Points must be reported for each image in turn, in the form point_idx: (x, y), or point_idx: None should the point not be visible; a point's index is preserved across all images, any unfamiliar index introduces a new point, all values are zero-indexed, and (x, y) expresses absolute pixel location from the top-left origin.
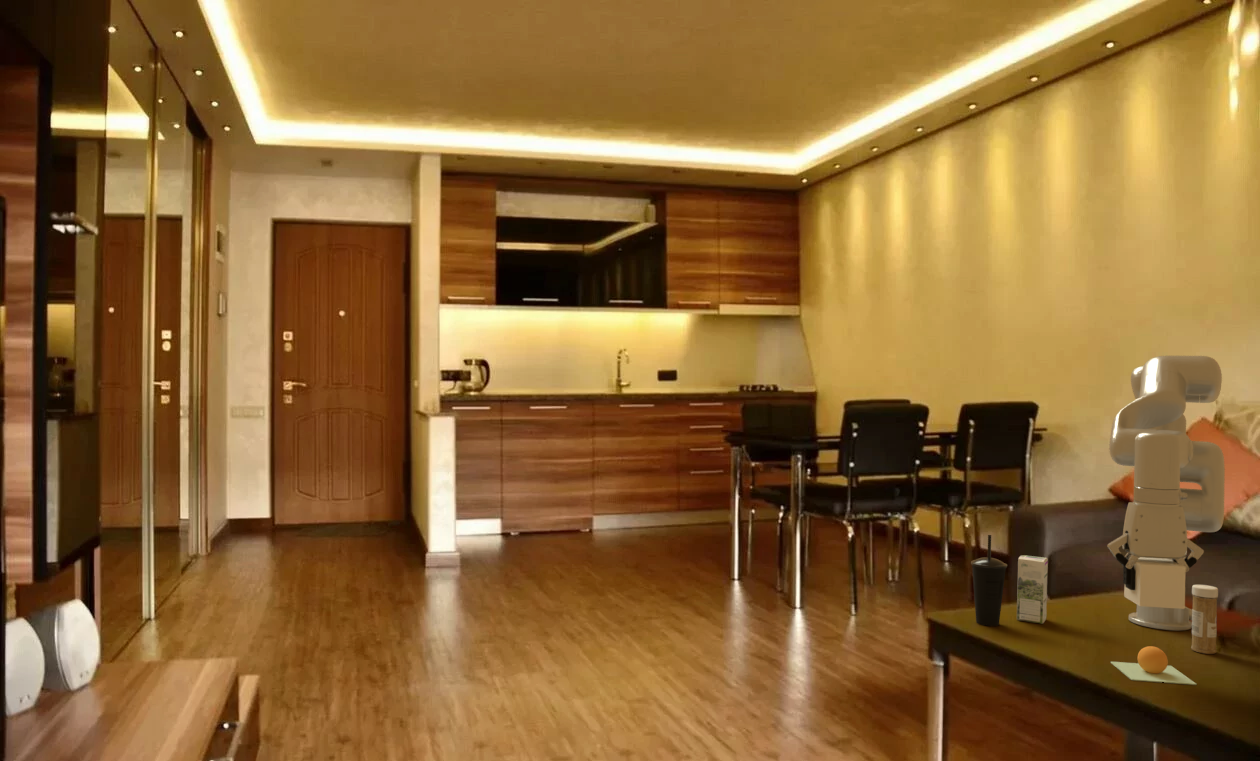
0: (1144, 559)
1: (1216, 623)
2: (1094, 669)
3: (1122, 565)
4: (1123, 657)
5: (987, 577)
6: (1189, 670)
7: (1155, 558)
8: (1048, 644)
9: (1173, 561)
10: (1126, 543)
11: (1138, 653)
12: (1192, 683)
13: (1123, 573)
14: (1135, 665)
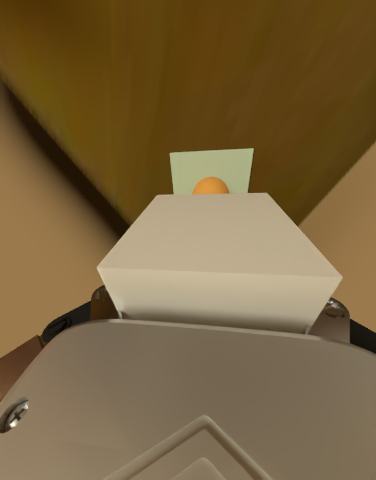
0: (177, 311)
1: None
2: (145, 193)
3: (104, 289)
4: (198, 108)
5: None
6: (272, 160)
7: (252, 284)
8: (82, 46)
9: (304, 330)
10: (41, 374)
11: (193, 192)
12: None
13: None
14: (199, 164)
